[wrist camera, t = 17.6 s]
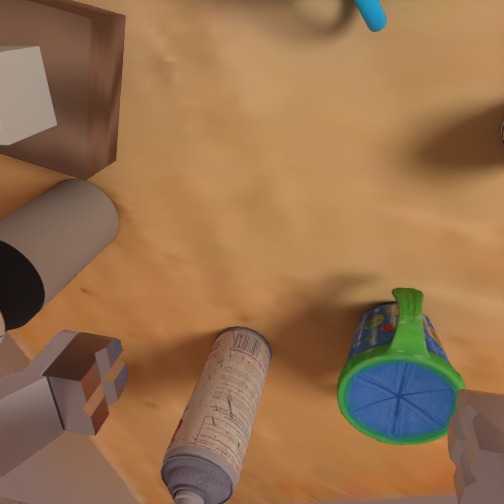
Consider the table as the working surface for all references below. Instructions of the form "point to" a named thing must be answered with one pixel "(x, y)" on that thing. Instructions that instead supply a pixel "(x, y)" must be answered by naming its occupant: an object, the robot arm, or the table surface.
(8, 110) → the light gray cube
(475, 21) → the table surface
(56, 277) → the travel mug
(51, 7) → the walnut block
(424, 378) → the snack cup
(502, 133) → the supplement bottle
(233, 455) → the aerosol can
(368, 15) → the mug
